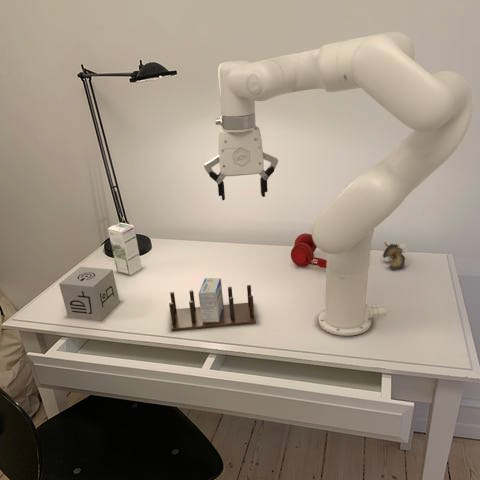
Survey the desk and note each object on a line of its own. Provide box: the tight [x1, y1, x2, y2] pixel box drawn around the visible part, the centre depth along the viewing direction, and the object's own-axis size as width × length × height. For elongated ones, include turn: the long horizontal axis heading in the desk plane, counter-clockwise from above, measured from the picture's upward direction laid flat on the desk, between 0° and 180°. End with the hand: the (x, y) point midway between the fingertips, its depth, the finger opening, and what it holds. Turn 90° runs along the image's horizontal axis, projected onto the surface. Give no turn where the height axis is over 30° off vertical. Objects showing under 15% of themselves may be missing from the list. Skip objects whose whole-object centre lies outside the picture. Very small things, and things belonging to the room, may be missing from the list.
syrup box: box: [107, 222, 143, 276], centre depth 155 cm, size 6×6×14 cm
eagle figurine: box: [382, 241, 408, 271], centre depth 151 cm, size 8×7×9 cm
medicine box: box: [198, 277, 225, 322], centre depth 129 cm, size 8×4×9 cm, turn 173°
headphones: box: [290, 232, 327, 269], centre depth 155 cm, size 15×7×20 cm
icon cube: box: [58, 266, 120, 322], centre depth 137 cm, size 10×10×10 cm
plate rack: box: [168, 284, 257, 332], centre depth 130 cm, size 21×10×7 cm, turn 94°
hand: (243, 196), depth 124 cm, fingers open, 9 cm apart
